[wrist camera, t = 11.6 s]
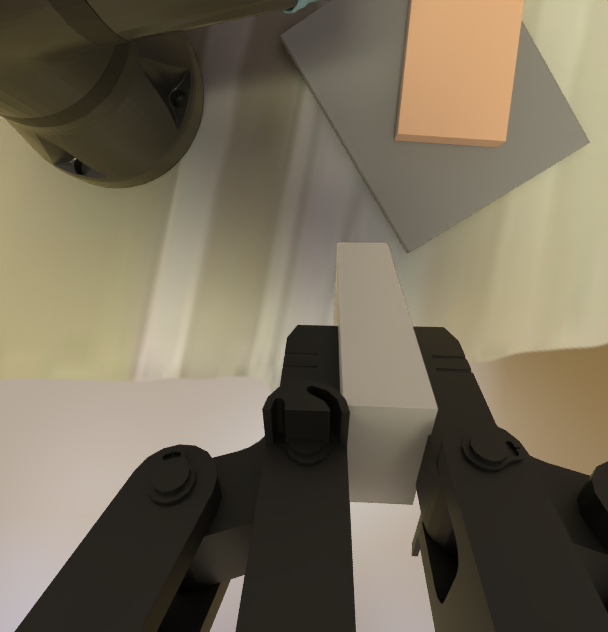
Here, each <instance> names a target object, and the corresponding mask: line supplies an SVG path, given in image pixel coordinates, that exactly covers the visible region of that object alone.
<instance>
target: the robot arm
mask: <svg viewBox="0 0 608 632" xmlns="http://www.w3.org/2000/svg"><path fill="white" fill-rule="evenodd" d="M315 1H319V0H0V115H1V116H3V117H4V118H5V119H6V120H7V121H8V122H9V123H10V124H11V125H12V126H13V127H14V128H15V129H16V130H17V131H18V133H19V134H20V135H21V136H22V137H23V138H24V139H25V140H26V141H27V142H28V143H29V144H30V145H31V146H32V147H33V148H34V149H35V150H36V151H37V152H38V153H39V154H40V155H41V156H42V157H43V158H44V159H45V160H46V161H48V162H49V163H50V164H52V165H53V166H55V167H56V168H58V169H59V170H61V171H63V172H65V173H67V174H69V175H71V176H73V177H76V178H78V179H80V180H83V181H85V182H88V183H90V184H94V185H97V186H101V187H108V188H127V187H133V186H137V185H141V184H144V183H147V182H149V181H152V180H154V179H156V178H157V177H159V176H161V175H162V174H164V173H165V172H167V171H168V170H169V169H170V168H172V167H173V166H174V165H175V164H176V163H177V162H178V161H179V160H180V158H181V157H182V156H183V155H184V153H185V152H186V151H187V149H188V148H189V146H190V144H191V143H192V141H193V139H194V137H195V134H196V132H197V129H198V126H199V123H200V119H201V115H202V109H203V82H202V75H201V71H200V67H199V64H198V61H197V58H196V56H195V54H194V51H193V49H192V47H191V46H190V44H189V42H188V40H187V39H186V37H185V35H184V34H183V32H182V31H185V30H190V29H194V28H199V27H204V26H208V25H213V24H218V23H222V22H227V21H231V20H236V19H241V18H245V17H250V16H255V15H259V14H264V13H268V12H273V11H278V10H281V11H282V12H283V13H287V14H289V13H295V12H297V10H299V9H302V8H303V7H305V6H306V4H308V3H311V2H315ZM262 410H263V419H264V429H265V436H264V437H263V438H262V439H261V440H260V441H259V442H257V443H256V444H254V445H252V446H251V447H249V448H246V449H243V450H241V451H238V452H234V453H230V454H226V455H222V456H218V457H214V458H212V457H211V456H210V455H209V453H208V452H207V451H205V450H203V449H201V448H199V447H197V446H192V445H176V446H172V447H168V448H163V449H162V450H160V451H158V452H156V453H154V454H153V455H151V456H149V457H148V458H147V459H146V460H145V461H144V462H143V463H142V464H141V465H140V466H139V467H138V468H137V469H136V470H135V471H134V472H133V473H132V475H131V476H130V478H129V479H128V480H127V482H126V483H125V484H124V486H123V487H122V489H121V490H120V491H119V492H118V494H117V495H116V496H115V498H114V499H113V500H112V502H111V503H110V504H109V506H108V507H107V508H106V510H105V511H104V512H103V514H102V515H101V516H100V518H99V519H98V520H97V522H96V523H95V524H94V526H93V527H92V529H91V530H90V531H89V533H88V534H87V535H86V537H85V538H84V539H83V541H82V542H81V543H80V545H79V546H78V547H77V549H76V550H75V551H74V553H73V554H72V556H71V557H70V558H69V559H68V561H67V562H66V563H65V565H64V566H63V568H62V569H61V570H60V571H59V573H58V574H57V576H56V577H55V578H54V579H53V581H52V582H51V584H50V585H49V586H48V588H47V589H46V590H45V592H44V593H43V594H42V596H41V597H40V598H39V600H38V601H37V602H36V604H35V605H34V606H33V608H32V609H31V611H30V612H29V613H28V614H27V616H26V617H25V619H24V620H23V621H22V622H21V624H20V625H19V626H18V628H17V629H16V631H15V632H210V629H211V627H212V624H213V622H214V619H215V617H216V614H217V612H218V609H219V607H220V605H221V602H222V600H223V597H224V595H225V592H226V590H227V587H228V585H229V582H230V580H231V579H233V578H236V577H239V576H242V575H245V577H244V584H243V589H242V595H241V602H240V608H239V614H238V620H237V626H236V632H356V625H355V604H354V583H353V561H352V540H351V520H350V502H368V503H389V504H409V505H412V504H413V501H414V497H415V493H416V490H417V494H418V499H419V505H420V509H421V515H420V519H419V522H418V525H417V529H416V532H415V536H414V539H413V542H412V556H418V553H419V551H420V550H421V555H422V561H423V566H424V572H425V577H426V583H427V588H428V593H429V599H430V605H431V610H432V616H433V621H434V627H435V632H608V462H606V463H603V464H602V465H599V466H597V467H596V469H595V470H594V471H593V473H592V474H591V476H589V475H585V474H582V473H579V472H576V471H572V470H569V469H566V468H562V467H559V466H556V465H552V464H549V463H546V462H544V461H541V460H539V459H536V458H534V457H532V456H530V455H529V454H528V452H527V451H526V450H525V448H524V447H523V445H522V444H521V443H520V441H518V440H517V439H516V438H515V437H513V436H512V435H511V434H509V433H508V432H507V431H506V430H504V429H501V428H499V427H498V426H497V425H496V423H495V421H494V419H493V416H492V414H491V412H490V410H489V407H488V405H487V403H486V401H485V399H484V396H483V394H482V392H481V390H480V388H479V385H478V383H477V381H476V379H475V376H474V374H473V373H471V368H470V365H469V363H468V361H467V359H465V354H464V352H463V350H462V348H461V345H460V343H459V341H458V340H457V339H456V338H455V337H454V336H453V335H452V334H450V333H449V332H448V331H447V330H446V329H445V328H444V327H413V326H412V322H411V319H410V316H409V312H408V309H407V306H406V303H405V299H404V296H403V293H402V290H401V286H400V283H399V280H398V277H397V273H396V270H395V267H394V264H393V260H392V257H391V254H390V250H389V247H388V244H387V243H356V242H337V255H336V279H335V303H334V326H317V325H297V326H296V328H295V329H294V330H293V331H292V332H291V334H290V335H289V336H288V337H287V343H286V349H285V356H284V363H283V369H282V376H281V383H280V387H278V388H277V389H276V390H275V391H274V392H273V393H272V394H271V395H270V396H268V398H267V400H266V402H265V405H264V407H263V409H262Z"/></svg>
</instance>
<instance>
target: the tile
mask: <svg viewBox="0 0 608 632" xmlns="http://www.w3.org/2000/svg"><path fill="white" fill-rule="evenodd" d="M523 5H524V0H409V7H408V16H407V26H406V35H405V45H404V54H403V64H402V74H401V83H400V93H399V102H398V112H397V121H396V131H395V140H394V141H409V142H424V143H438V144H453V145H468V146H482V147H497V148H498V147H499V146H500V145H501V144H503V143H504V142H505V141H506V135H507V128H508V120H509V113H510V105H511V97H512V90H513V82H514V74H515V67H516V59H517V51H518V44H519V36H520V28H521V21H522V13H523Z"/></svg>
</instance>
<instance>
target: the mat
mask: <svg viewBox="0 0 608 632" xmlns="http://www.w3.org/2000/svg"><path fill="white" fill-rule="evenodd" d="M408 7H409V0H330V1H329V2H328V3H326V4H325V5H323V6H322V7H320V8H319V9H317V10H316V11H315V12H313V13H312V14H310V15H309V16H307V17H306V18H304V19H303V20H302V21H300V22H299V23H297V24H296V25H294V26H293V27H292V28H290V29H289V30H287V31H286V32H284V33H283V34H281V35H280V36H281V41H282V43H283V45H284V46H285V48H286V50H287V52H288V53H289V55H290V57H291V58H292V60H293V62H294V63H295V65H296V67H297V68H298V70H299V72H300V73H301V75H302V77H303V78H304V80H305V82H306V84H307V85H308V87H309V89H310V90H311V92H312V94H313V95H314V97H315V99H316V100H317V102H318V104H319V105H320V107H321V109H322V110H323V112H324V114H325V116H326V117H327V119H328V121H329V122H330V124H331V126H332V127H333V129H334V131H335V132H336V134H337V136H338V137H339V139H340V141H341V142H342V144H343V146H344V148H345V149H346V151H347V153H348V154H349V156H350V158H351V159H352V161H353V163H354V164H355V166H356V168H357V169H358V171H359V173H360V174H361V176H362V178H363V180H364V181H365V183H366V185H367V186H368V188H369V190H370V191H371V193H372V195H373V196H374V198H375V200H376V201H377V203H378V205H379V206H380V208H381V210H382V212H383V213H384V215H385V217H386V218H387V220H388V222H389V223H390V225H391V227H392V228H393V230H394V232H395V233H396V235H397V237H398V238H399V240H400V242H401V244H402V245H403V247H404V249H405V250H406V252H407V253H409V252H411V251H412V250H414V249H416V248H417V247H419V246H421V245H422V244H424V243H425V242H427V241H429V240H430V239H432V238H434V237H435V236H437V235H439V234H440V233H442V232H444V231H445V230H447V229H449V228H450V227H452V226H453V225H455V224H457V223H458V222H460V221H462V220H463V219H465V218H467V217H468V216H470V215H472V214H473V213H475V212H477V211H478V210H480V209H481V208H483V207H485V206H486V205H488V204H490V203H491V202H493V201H495V200H496V199H498V198H500V197H501V196H503V195H505V194H506V193H508V192H509V191H511V190H513V189H514V188H516V187H518V186H519V185H521V184H523V183H524V182H526V181H528V180H529V179H531V178H533V177H534V176H536V175H537V174H539V173H541V172H542V171H544V170H546V169H547V168H549V167H551V166H552V165H554V164H556V163H557V162H559V161H561V160H562V159H564V158H565V157H567V156H569V155H570V154H572V153H574V152H575V151H577V150H579V149H580V148H582V147H584V146H585V145H587V144H589V143H590V141H589V140H588V138H587V136H586V134H585V132H584V131H583V129H582V127H581V125H580V123H579V122H578V120H577V118H576V116H575V115H574V113H573V111H572V109H571V107H570V106H569V104H568V102H567V100H566V98H565V97H564V95H563V93H562V91H561V90H560V88H559V86H558V84H557V82H556V81H555V79H554V77H553V75H552V73H551V72H550V70H549V68H548V66H547V65H546V63H545V61H544V59H543V57H542V56H541V54H540V52H539V50H538V48H537V47H536V45H535V43H534V41H533V40H532V38H531V36H530V34H529V32H528V31H527V29H526V27H525V25H524V23H523V22H522V21H521V28H520V36H519V44H518V51H517V59H516V67H515V74H514V82H513V90H512V97H511V105H510V113H509V120H508V128H507V135H506V141H505V142H504V143H503V144H501V145H500V146H499V147H498V148H497V147H482V146H468V145H453V144H438V143H424V142H409V141H394V140H395V131H396V121H397V112H398V102H399V93H400V83H401V74H402V64H403V54H404V45H405V35H406V26H407V16H408Z"/></svg>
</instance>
